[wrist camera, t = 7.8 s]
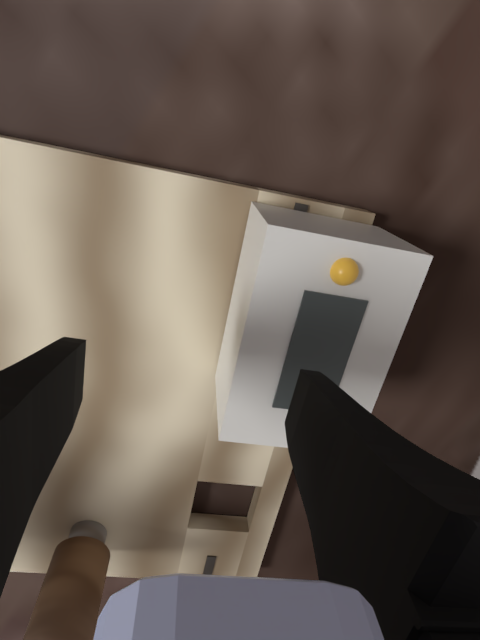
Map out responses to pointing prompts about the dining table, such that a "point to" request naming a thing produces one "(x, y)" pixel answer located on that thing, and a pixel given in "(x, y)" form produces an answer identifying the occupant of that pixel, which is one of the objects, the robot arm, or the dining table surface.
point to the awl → (72, 586)
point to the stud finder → (310, 315)
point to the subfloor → (136, 352)
